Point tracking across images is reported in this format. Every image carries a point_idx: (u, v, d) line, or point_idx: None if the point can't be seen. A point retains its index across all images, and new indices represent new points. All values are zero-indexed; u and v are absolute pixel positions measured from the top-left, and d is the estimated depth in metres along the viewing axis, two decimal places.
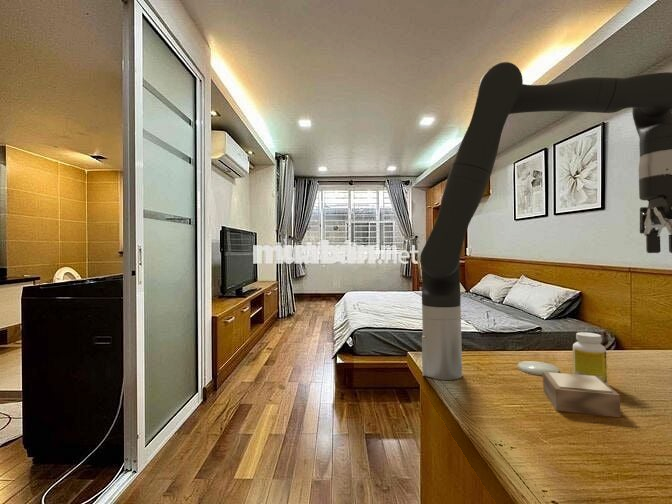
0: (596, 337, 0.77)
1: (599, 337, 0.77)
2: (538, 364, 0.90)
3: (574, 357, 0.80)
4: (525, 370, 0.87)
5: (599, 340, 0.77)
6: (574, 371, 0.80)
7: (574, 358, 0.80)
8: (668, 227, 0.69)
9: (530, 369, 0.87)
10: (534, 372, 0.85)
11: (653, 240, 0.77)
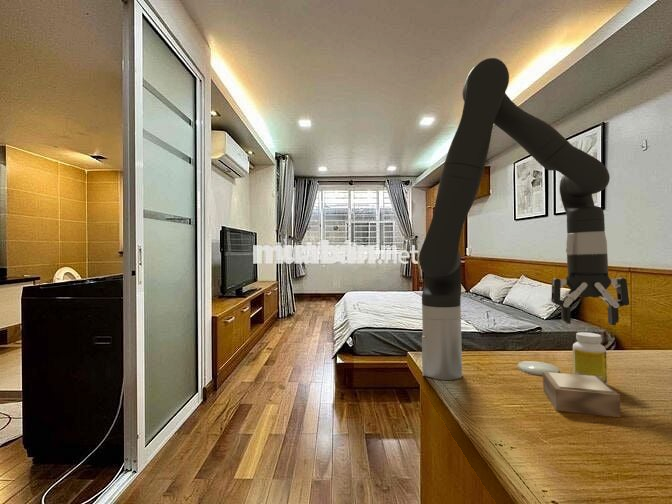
0: (596, 337, 0.77)
1: (599, 337, 0.77)
2: (538, 364, 0.90)
3: (574, 357, 0.80)
4: (525, 370, 0.87)
5: (599, 340, 0.77)
6: (574, 371, 0.80)
7: (574, 358, 0.80)
8: (612, 302, 0.77)
9: (530, 369, 0.87)
10: (534, 372, 0.85)
11: None
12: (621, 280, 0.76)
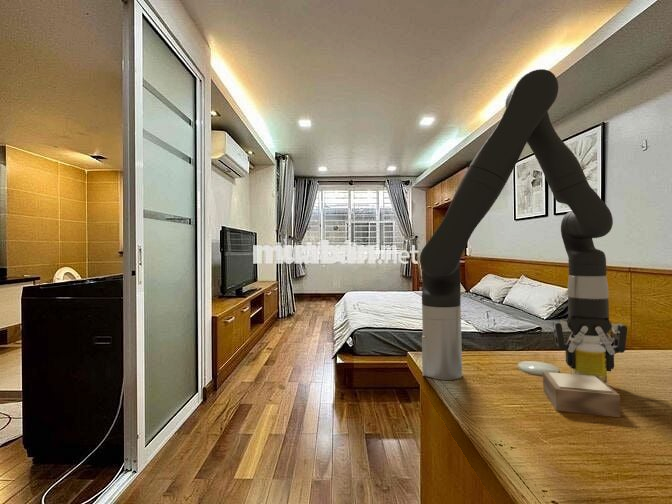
0: (596, 337, 0.77)
1: (599, 337, 0.77)
2: (538, 364, 0.90)
3: None
4: (525, 370, 0.87)
5: (599, 340, 0.77)
6: (574, 371, 0.80)
7: None
8: (609, 348, 0.77)
9: (530, 369, 0.87)
10: (534, 372, 0.85)
11: None
12: (622, 327, 0.76)
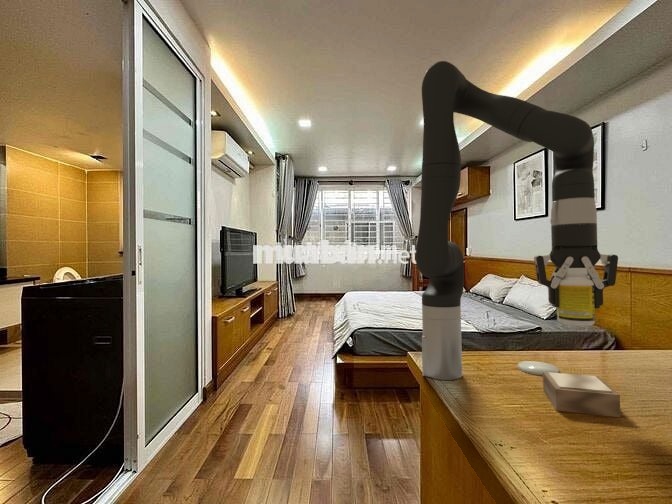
0: (583, 269, 0.67)
1: (586, 269, 0.67)
2: (538, 364, 0.90)
3: None
4: (525, 370, 0.87)
5: (586, 272, 0.67)
6: (558, 310, 0.70)
7: None
8: (597, 281, 0.67)
9: (530, 369, 0.87)
10: (534, 372, 0.85)
11: None
12: (612, 257, 0.66)
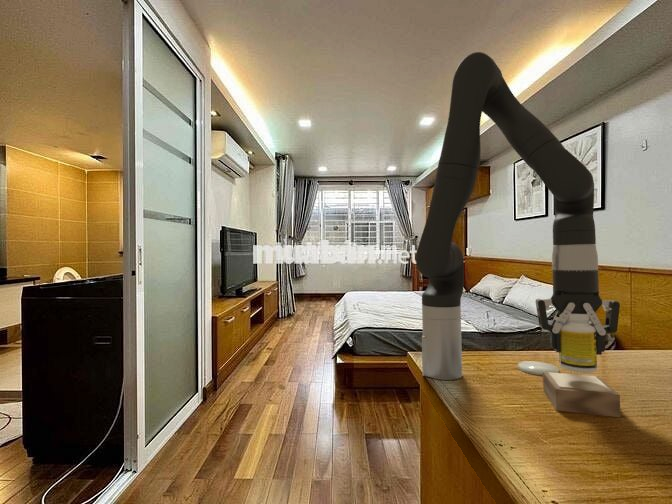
0: (584, 315, 0.67)
1: (588, 315, 0.67)
2: (538, 364, 0.90)
3: (560, 339, 0.69)
4: (525, 370, 0.87)
5: (588, 319, 0.67)
6: (560, 355, 0.70)
7: None
8: (599, 328, 0.67)
9: (530, 369, 0.87)
10: (534, 372, 0.85)
11: None
12: (614, 303, 0.66)
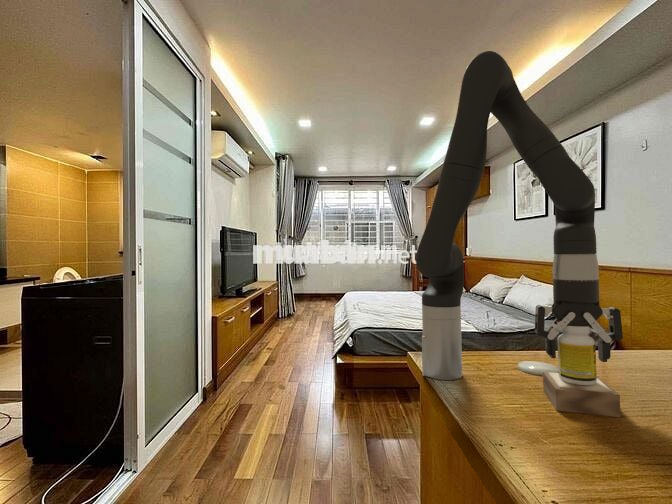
0: (584, 328, 0.67)
1: (587, 328, 0.67)
2: (538, 364, 0.90)
3: (559, 351, 0.69)
4: (525, 370, 0.87)
5: (587, 331, 0.67)
6: (559, 367, 0.70)
7: (559, 352, 0.70)
8: (604, 335, 0.67)
9: (530, 369, 0.87)
10: (534, 372, 0.85)
11: None
12: (614, 311, 0.66)
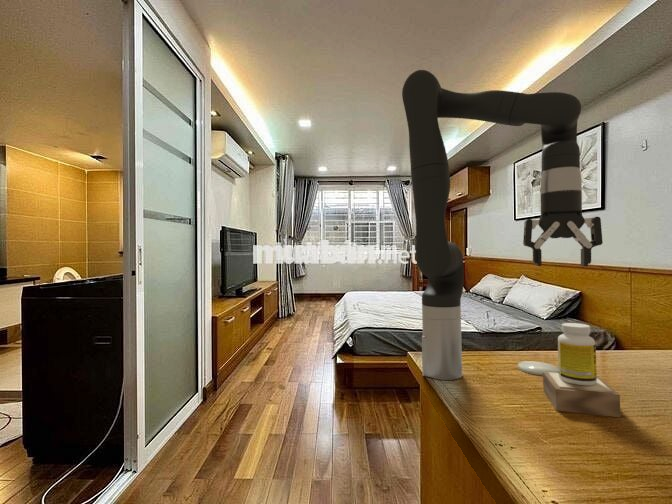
0: (584, 328, 0.67)
1: (587, 328, 0.67)
2: (538, 364, 0.90)
3: (559, 351, 0.69)
4: (525, 370, 0.87)
5: (587, 331, 0.67)
6: (559, 367, 0.70)
7: (559, 352, 0.70)
8: (585, 242, 0.73)
9: (530, 369, 0.87)
10: (534, 372, 0.85)
11: None
12: (595, 219, 0.72)
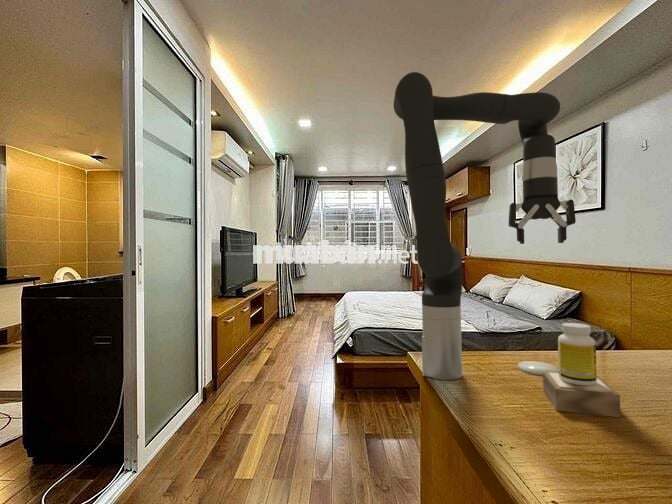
0: (584, 328, 0.67)
1: (588, 328, 0.67)
2: (538, 364, 0.90)
3: (560, 351, 0.69)
4: (525, 370, 0.87)
5: (588, 331, 0.67)
6: (559, 367, 0.70)
7: (559, 352, 0.70)
8: (561, 221, 0.84)
9: (530, 369, 0.87)
10: (534, 372, 0.85)
11: None
12: (569, 201, 0.84)
